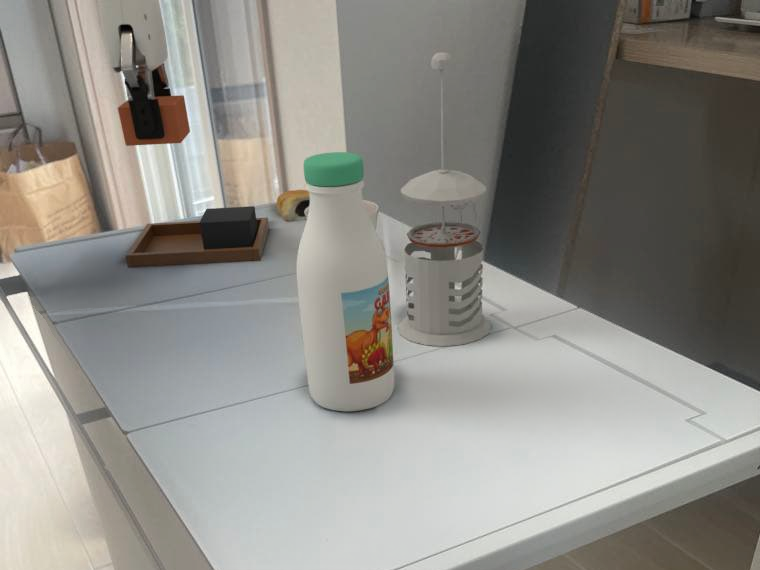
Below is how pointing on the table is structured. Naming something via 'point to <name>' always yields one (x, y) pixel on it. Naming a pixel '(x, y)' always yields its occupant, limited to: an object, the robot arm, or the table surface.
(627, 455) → the table surface
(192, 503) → the table surface
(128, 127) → the orange block
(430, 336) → the french press
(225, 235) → the seated pad
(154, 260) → the tray
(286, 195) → the pastry
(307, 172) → the milk bottle
